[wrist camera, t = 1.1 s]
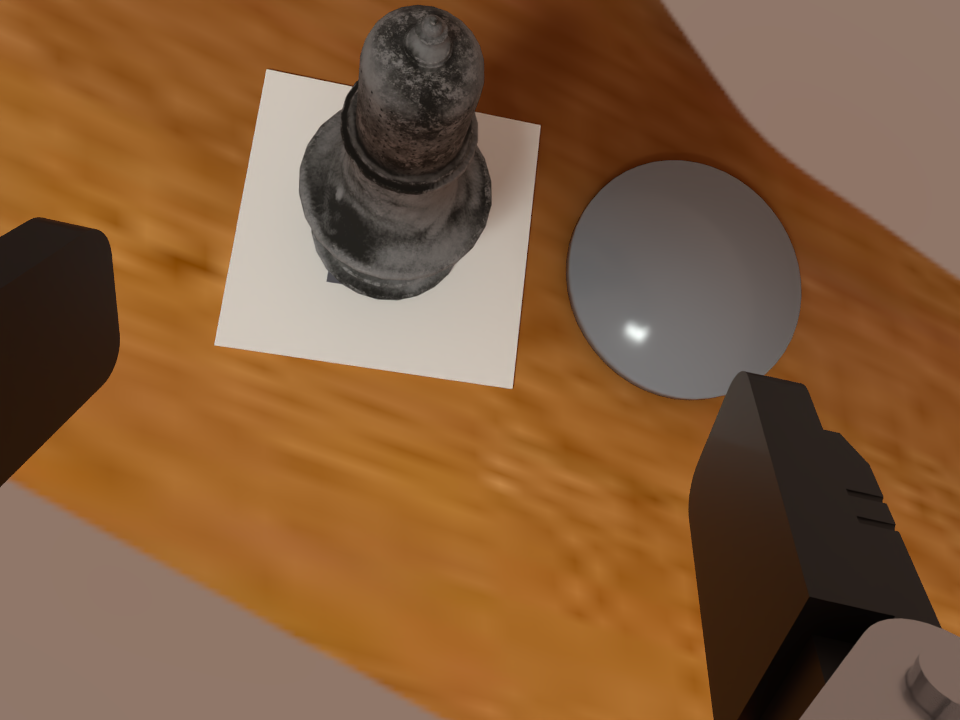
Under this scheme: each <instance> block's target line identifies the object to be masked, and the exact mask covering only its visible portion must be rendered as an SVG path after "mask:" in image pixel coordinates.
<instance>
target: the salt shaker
mask: <svg viewBox="0 0 960 720" xmlns="http://www.w3.org/2000/svg"><path fill="white" fill-rule="evenodd" d="M483 84H484V59H483V55H482V52H481V48H480V45H479V43H478V41H477V40H476V38H475V36H474V35H473V33H472V31H471V30H470V29H469V28H468V27H467V26H466V25H465V24H464V23H463V22H462V21H461V20H459V19H458V18H456V17H455V16H453V15H452V14H450V13H449V12H447V11H444V10H441V9H438V8H436V7H432V6H422V5H414V6H407V7H401V8H399V9H397V10H394V11H392V12H389V13H388V14H386V15H385V16H384V17H383V18H381V19H380V20H379V21H378V22H377V23H376V24H375V26H374V27H373V28H372V30H371V31H370V33H369V34H368V36H367V38H366V40H365V43H364V46H363V49H362V52H361V55H360V68H359V80H358V81H357V82H356V83H355V84H354V86H353V87H352V89H351V90H350V91H349V93H348V94H347V96H346V98H345V101H344V105H343V108H342V110H339V111H338V112H337V113H336V114H334V115H333V116H332V117H331V118H330V119H328V120H327V121H326V122H325V123H323V124H322V125H321V126H320V127H319V129H318V130H317V132H316V133H315V135H314V136H313V137H312V139H311V140H310V142H309V143H308V145H307V147H306V150H305V153H304V156H303V159H302V162H301V165H300V170H299V196H300V200H301V204H302V208H303V212H304V216H305V218H306V220H307V222H308V224H309V226H310V227H311V233H312V237H313V241H314V245H315V249H316V252H317V254H318V255H319V257H320V259H321V261H322V262H323V264H324V266H325V268H326V269H327V270H328V271H329V272H330V273H331V274H332V275H333V276H334V277H335V278H336V279H337V280H338V281H339V282H340V283H341V284H343V285H344V286H346V287H348V288H349V289H351V290H353V291H354V292H356V293H358V294H361V295H364V296H367V297H371V298H374V299H378V300H402V299H406V298H411V297H416V296H419V295H420V294H422V293H424V292H426V291H428V290H430V289H432V288H434V287H435V286H436V285H438V284H439V283H440V282H441V281H442V280H443V279H444V278H445V277H446V276H447V275H448V274H449V273H450V271H451V269H452V268H453V266H454V265H455V264H456V263H457V262H458V261H459V260H460V259H461V258H463V257H464V256H465V255H466V254H467V253H468V252H469V251H470V250H471V249H472V248H473V247H474V245H475V244H476V242H477V240H478V239H479V237H480V235H481V234H482V232H483V230H484V229H485V227H486V224H487V220H488V216H489V213H490V209H491V205H492V190H491V178H490V175H489V171H488V168H487V164H486V161H485V158H484V156H483V154H482V153H481V151H480V149H479V148H478V146H477V143H478V122H477V118H476V114H475V109H476V106H477V104H478V101H479V98H480V95H481V92H482V88H483Z"/></svg>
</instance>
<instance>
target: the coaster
mask: <svg viewBox="0 0 960 720" xmlns="http://www.w3.org/2000/svg"><path fill="white" fill-rule="evenodd" d="M566 281H567V291H568V295H569V300H570V304H571V308H572V310H573V313H574V316H575V319H576V321H577V324H578V325H579V327H580V329H581V331H582V333H583V335H584V337H585V338H586V340H587V341H588V343H589V344H590V346H591V347H592V349H593V350H594V351H595V353H596V354H597V355H598V356H599V357H600V358H601V359H602V360H603V362H604V363H605V364H606V365H608V366H609V367H610V368H611V369H612V370H613V371H614V372H615V373H617V374H618V375H619V376H621V377H622V378H624V379H625V380H627V381H628V382H630V383H631V384H633V385H635V386H637V387H639V388H641V389H643V390H645V391H648V392H650V393H653V394H656V395H659V396H663V397H667V398H672V399H680V400H704V399H709V398H714V397H719V396H723V395H726V393H727V391H728V389H729V386H730V384H731V382H732V381H733V379H734V377H735V376H736V375H737V374H738V373H739V372H741V371H745V372H750V373H755V374H759V375H765V374H766V373H767V372H768V371H769V370H770V369H771V368H772V367H773V366H774V365H775V364H776V363H777V361H778V360H779V359H780V357H781V356H782V354H783V353H784V352H785V350H786V348H787V346H788V344H789V343H790V341H791V339H792V336H793V333H794V331H795V328H796V325H797V321H798V317H799V312H800V304H801V279H800V272H799V266H798V262H797V258H796V255H795V251H794V249H793V246H792V244H791V241H790V239H789V236H788V235H787V233H786V231H785V229H784V227H783V225H782V224H781V222H780V221H779V219H778V218H777V216H776V215H775V213H774V212H773V211H772V209H771V208H770V207H769V206H768V205H767V204H766V203H765V202H764V200H763V199H762V198H761V197H760V196H758V195H757V194H756V193H755V192H754V191H753V190H752V189H751V188H749V187H748V186H747V185H745V184H744V183H742V182H741V181H740V180H738V179H736V178H735V177H733V176H731V175H729V174H727V173H726V172H723V171H721V170H718V169H716V168H714V167H711V166H708V165H704V164H700V163H696V162H689V161H682V160H666V161H658V162H651V163H648V164H644V165H640V166H637V167H635V168H633V169H631V170H628V171H626V172H624V173H623V174H621V175H619V176H618V177H616V178H614V179H613V180H612V181H611V182H609V183H608V184H607V185H606V186H605V187H603V188H602V189H601V191H600V192H599V193H598V194H597V195H596V196H595V197H594V198H593V200H592V201H591V202H590V203H589V204H588V205H587V207H586V208H585V210H584V211H583V213H582V214H581V216H580V217H579V220H578V222H577V224H576V226H575V228H574V230H573V233H572V236H571V240H570V243H569V247H568V253H567V259H566Z"/></svg>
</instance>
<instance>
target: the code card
mask: <svg viewBox="0 0 960 720" xmlns="http://www.w3.org/2000/svg"><path fill="white" fill-rule="evenodd" d="M351 89H352V86H347V85H342V84H337V83H332V82H327V81H322V80H317V79H312V78H308V77H303V76H298V75H293V74H288V73H283V72H278V71H273V70H269V69H267V70H266V75H265V80H264V86H263V91H262V96H261V102H260V107H259V112H258V117H257V123H256V128H255V133H254V138H253V144H252V149H251V154H250V159H249V165H248V170H247V175H246V181H245V186H244V191H243V196H242V202H241V207H240V212H239V217H238V223H237V228H236V233H235V238H234V244H233V249H232V254H231V260H230V265H229V270H228V275H227V281H226V286H225V291H224V296H223V302H222V307H221V312H220V317H219V323H218V328H217V333H216V339H215V344H214V345H216V346H223V347H230V348H237V349H243V350H250V351H257V352H264V353H271V354H277V355H284V356H291V357H298V358H305V359H311V360H318V361H325V362H332V363H339V364H345V365H352V366H359V367H366V368H373V369H379V370H386V371H393V372H400V373H407V374H413V375H420V376H427V377H434V378H441V379H447V380H454V381H461V382H468V383H475V384H481V385H488V386H495V387H502V388H509V389H513V380H514V371H515V361H516V352H517V343H518V333H519V324H520V315H521V305H522V296H523V287H524V277H525V268H526V259H527V249H528V240H529V231H530V221H531V212H532V203H533V193H534V184H535V175H536V165H537V156H538V147H539V137H540V128H541V125H537V124H532V123H527V122H522V121H518V120H513V119H508V118H503V117H498V116H493V115H488V114H483V113H478V112H475V114H476V118H477V122H478V143H477V146H478V148H479V149H480V151H481V153H482V154H483V156H484V158H485V161H486V164H487V168H488V171H489V175H490V178H491V190H492V205H491V209H490V213H489V216H488V220H487V224H486V227H485V229H484V230H483V232H482V234H481V235H480V237H479V239H478V240H477V242H476V244H475V245H474V247H473V248H472V249H471V250H470V251H469V252H468V253H467V254H466V255H465V256H464V257H463V258H461V259H460V260H459V261H458V262H457V263H456V264H455V265H454V266H453V268H452V269H451V271H450V273H449V274H448V275H447V276H446V277H445V278H444V279H443V280H442V281H441V282H440V283H439V284H438V285H436V286H435V287H434V288H432V289H430V290H428V291H426V292H424V293H422V294H420V295H419V296H416V297H411V298H406V299H402V300H378V299H374V298H371V297H367V296H364V295H361V294H358V293H356V292H354V291H353V290H351V289H349V288H348V287H346V286H344V285H343V284H341V283H340V282H339V281H338V280H337V279H336V278H335V277H334V276H333V275H332V274H331V273H330V272H329V271H328V270H327V269H326V268H325V266H324V264H323V262H322V261H321V259H320V257H319V255H318V254H317V252H316V249H315V245H314V241H313V237H312V233H311V227H310V226H309V224H308V222H307V220H306V218H305V216H304V212H303V208H302V204H301V200H300V196H299V170H300V165H301V162H302V159H303V156H304V153H305V150H306V147H307V145H308V143H309V142H310V140H311V139H312V137H313V136H314V135H315V133H316V132H317V130H318V129H319V127H320V126H321V125H322V124H323V123H325V122H326V121H327V120H328V119H330V118H331V117H332V116H333V115H334V114H336V113H337V112H338V111H339V110H342V108H343V105H344V101H345V98H346V96H347V94H348V93H349V91H350V90H351Z"/></svg>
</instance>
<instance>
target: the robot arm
mask: <svg viewBox="0 0 960 720" xmlns="http://www.w3.org/2000/svg"><path fill="white" fill-rule="evenodd" d="M119 346H120V333H119V323H118V313H117V303H116V293H115V283H114V273H113V263H112V253H111V247H110V244H109V241H108V239H107V237H106V236H105V234H104V233H102V232H101V231H99V230H97V229H92V228H88V227H83V226H78V225H74V224H69V223H65V222H60V221H55V220H51V219H46V218H40V217H37V218H33V219H31V220H29V221H27V222H25V223H23V224H22V225H20V226H18V227H17V228H15V229H13V230H11V231H10V232H8V233H6V234H5V235H3V236H1V237H0V487H1V486H2V485H3V484H4V483H5V482H6V481H7V480H8V479H9V478H10V477H11V476H12V475H13V474H14V473H15V472H16V471H17V470H18V469H19V468H20V467H21V466H22V465H23V464H24V463H25V462H26V461H27V460H28V459H29V458H30V457H31V456H32V455H33V454H34V453H35V452H36V451H37V450H38V449H39V448H40V447H41V446H42V445H43V444H44V443H45V442H46V441H47V440H48V439H49V438H50V437H51V436H52V435H53V434H54V433H55V432H56V431H57V430H58V429H59V428H60V427H61V426H62V425H63V424H64V423H65V422H66V421H67V420H68V419H69V418H70V417H71V416H72V415H73V414H74V413H75V412H76V411H77V410H78V409H79V408H80V407H81V406H82V405H83V404H84V403H85V402H86V401H87V400H88V399H89V398H90V397H91V396H92V395H93V394H94V393H95V392H96V391H97V390H98V389H99V388H100V387H101V386H102V385H103V384H104V383H105V382H106V381H107V379H108V378H109V376H110V374H111V373H112V371H113V368H114V366H115V363H116V360H117V357H118V353H119ZM882 500H883V495H882V493H881V490H880V488H879V486H878V483H877V481H876V479H875V477H874V474H873V472H872V470H871V468H870V465H869V464H868V463H867V462H866V461H865V460H864V459H863V458H862V456H861V455H860V454H859V453H858V452H857V451H856V450H855V449H854V448H853V447H852V446H851V445H850V444H849V443H848V442H847V441H846V440H845V438H844V437H843V436H842V435H841V434H840V433H836V432H832V431H827V430H823V428H822V426H821V423H820V420H819V418H818V415H817V413H816V410H815V407H814V405H813V402H812V400H811V397H810V395H809V392H808V390H807V388H806V386H805V385H803V384H801V383H796V382H792V381H787V380H782V379H778V378H773V377H769V376H764V375H759V374H755V373H750V372H745V371H741V372H739V373H738V374H737V375H736V376H735V377H734V379H733V381H732V382H731V384H730V386H729V389H728V391H727V393H726V396H725V398H724V401H723V403H722V406H721V408H720V410H719V413H718V415H717V418H716V420H715V423H714V425H713V427H712V430H711V432H710V435H709V437H708V439H707V442H706V444H705V447H704V449H703V452H702V454H701V456H700V459H699V461H698V464H697V466H696V469H695V472H694V475H693V479H692V484H691V489H690V495H689V522H690V530H691V539H692V547H693V555H694V563H695V571H696V579H697V587H698V595H699V604H700V612H701V620H702V628H703V636H704V644H705V652H706V660H707V669H708V677H709V685H710V693H711V701H712V709H713V717H714V720H960V637H958V636H956V635H954V634H952V633H950V632H948V631H946V630H944V629H942V628H941V626H940V624H939V621H938V619H937V617H936V615H935V612H934V610H933V608H932V605H931V603H930V601H929V599H928V596H927V594H926V592H925V590H924V587H923V585H922V583H921V581H920V578H919V576H918V574H917V572H916V569H915V567H914V565H913V563H912V560H911V558H910V556H909V554H908V551H907V549H906V547H905V544H904V542H903V540H902V538H901V535H900V533H899V532H898V531H895V525H896V524H895V522H894V520H893V517H892V515H891V513H890V511H889V508H888V506H887V504H885V503H882Z"/></svg>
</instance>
